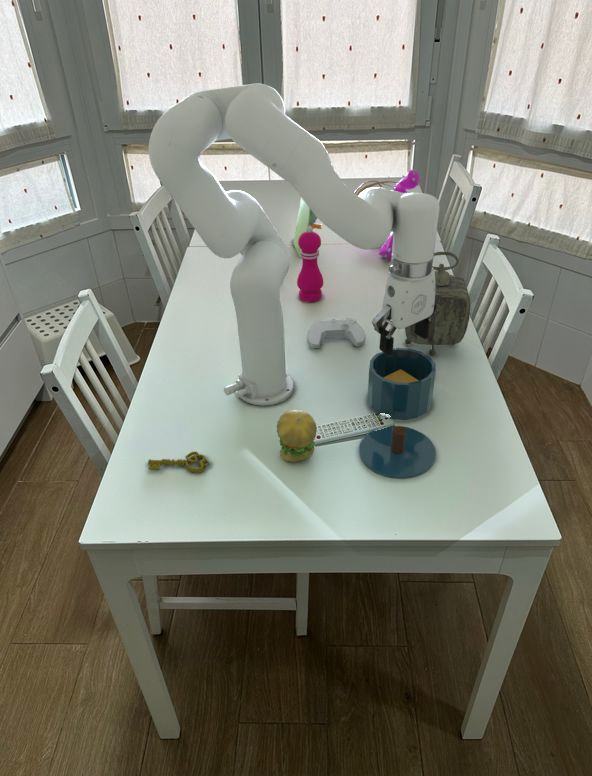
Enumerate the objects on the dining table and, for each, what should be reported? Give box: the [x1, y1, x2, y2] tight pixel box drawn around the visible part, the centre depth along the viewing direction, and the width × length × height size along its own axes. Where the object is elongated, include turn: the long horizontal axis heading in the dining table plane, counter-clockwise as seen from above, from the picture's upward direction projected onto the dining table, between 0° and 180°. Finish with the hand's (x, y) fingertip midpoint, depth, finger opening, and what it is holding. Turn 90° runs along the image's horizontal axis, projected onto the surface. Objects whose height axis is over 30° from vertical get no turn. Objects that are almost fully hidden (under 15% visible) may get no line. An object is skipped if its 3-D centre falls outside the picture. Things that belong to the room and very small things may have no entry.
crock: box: [366, 347, 437, 421], centre depth 133 cm, size 14×14×10 cm
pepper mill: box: [296, 226, 324, 303], centre depth 167 cm, size 7×7×20 cm
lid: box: [358, 425, 437, 480], centre depth 121 cm, size 15×15×6 cm
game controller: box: [306, 317, 367, 349], centre depth 154 cm, size 14×4×10 cm
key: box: [148, 451, 210, 474], centre depth 122 cm, size 12×1×5 cm
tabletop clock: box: [404, 251, 471, 357], centre depth 143 cm, size 14×9×25 cm, turn 86°
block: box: [383, 369, 419, 383], centre depth 134 cm, size 6×6×6 cm
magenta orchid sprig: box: [293, 169, 421, 260], centre depth 191 cm, size 30×28×35 cm
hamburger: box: [276, 409, 318, 463], centre depth 119 cm, size 8×7×12 cm
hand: (403, 343), depth 126 cm, fingers open, 9 cm apart
